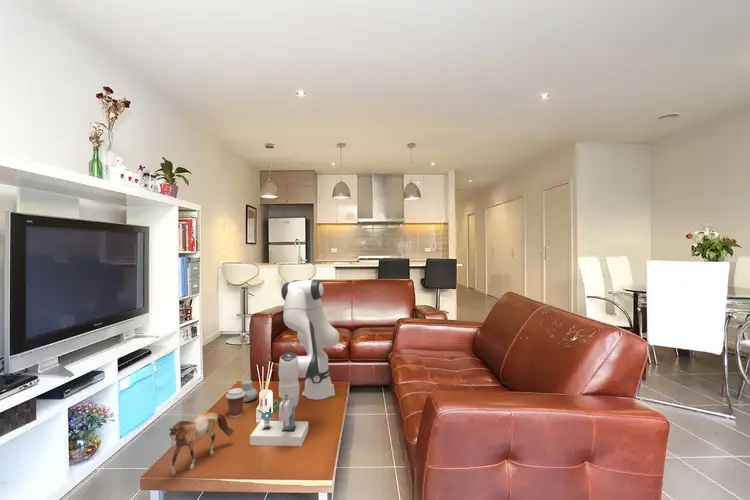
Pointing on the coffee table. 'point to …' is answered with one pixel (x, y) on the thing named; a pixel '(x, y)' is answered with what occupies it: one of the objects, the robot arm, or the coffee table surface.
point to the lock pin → (266, 419)
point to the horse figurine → (196, 433)
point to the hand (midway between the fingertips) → (289, 422)
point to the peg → (292, 422)
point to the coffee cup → (235, 402)
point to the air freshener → (248, 390)
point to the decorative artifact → (275, 405)
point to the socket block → (279, 434)
